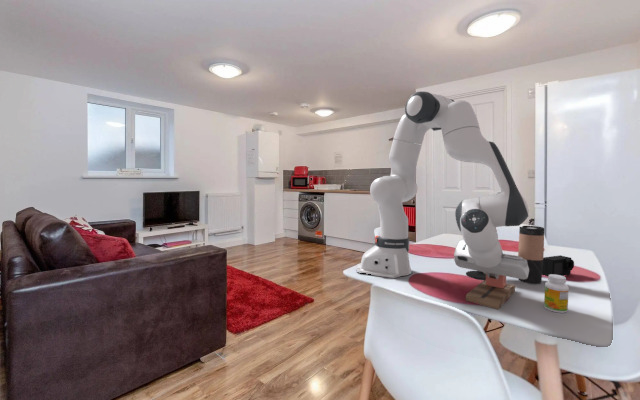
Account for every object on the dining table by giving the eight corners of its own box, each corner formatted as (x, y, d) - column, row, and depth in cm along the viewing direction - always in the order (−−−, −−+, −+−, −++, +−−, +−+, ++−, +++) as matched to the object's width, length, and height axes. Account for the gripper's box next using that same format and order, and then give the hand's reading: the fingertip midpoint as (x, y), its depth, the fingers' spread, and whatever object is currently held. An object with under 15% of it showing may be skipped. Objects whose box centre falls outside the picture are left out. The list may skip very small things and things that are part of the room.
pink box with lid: (503, 289, 97) (504, 257, 97) (484, 284, 101) (485, 254, 101) (507, 285, 101) (508, 255, 100) (488, 281, 104) (489, 252, 104)
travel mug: (546, 284, 108) (549, 229, 106) (522, 283, 109) (525, 228, 108) (535, 277, 115) (538, 225, 114) (513, 276, 117) (515, 225, 115)
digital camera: (555, 279, 114) (556, 260, 114) (541, 274, 119) (541, 257, 119) (574, 276, 117) (575, 258, 117) (559, 272, 123) (559, 255, 122)
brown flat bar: (498, 309, 87) (498, 302, 87) (465, 300, 94) (465, 294, 94) (514, 291, 102) (515, 285, 102) (485, 284, 108) (485, 279, 108)
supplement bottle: (539, 305, 90) (540, 273, 89) (556, 305, 90) (557, 273, 90) (554, 313, 85) (556, 279, 84) (572, 312, 85) (574, 279, 84)
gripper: (528, 249, 85) (533, 275, 93) (454, 239, 100) (464, 262, 107) (524, 268, 82) (530, 293, 90) (448, 255, 97) (459, 277, 104)
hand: (493, 276), depth 99 cm, fingers closed, pressing on pink box with lid
